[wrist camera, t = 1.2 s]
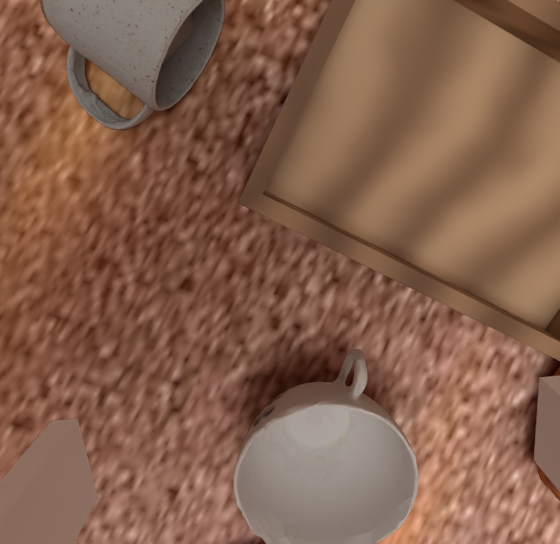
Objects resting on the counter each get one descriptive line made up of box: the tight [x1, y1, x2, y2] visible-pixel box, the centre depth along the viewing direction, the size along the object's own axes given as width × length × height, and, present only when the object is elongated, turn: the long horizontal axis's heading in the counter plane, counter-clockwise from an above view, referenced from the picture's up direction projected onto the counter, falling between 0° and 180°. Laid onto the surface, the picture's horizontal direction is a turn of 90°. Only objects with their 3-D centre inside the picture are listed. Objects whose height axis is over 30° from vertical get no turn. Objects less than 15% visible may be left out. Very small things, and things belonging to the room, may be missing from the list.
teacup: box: [233, 350, 419, 544], centre depth 32 cm, size 15×12×8 cm
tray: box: [238, 0, 560, 361], centre depth 29 cm, size 26×18×4 cm
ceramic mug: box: [40, 0, 225, 130], centre depth 25 cm, size 11×8×8 cm
